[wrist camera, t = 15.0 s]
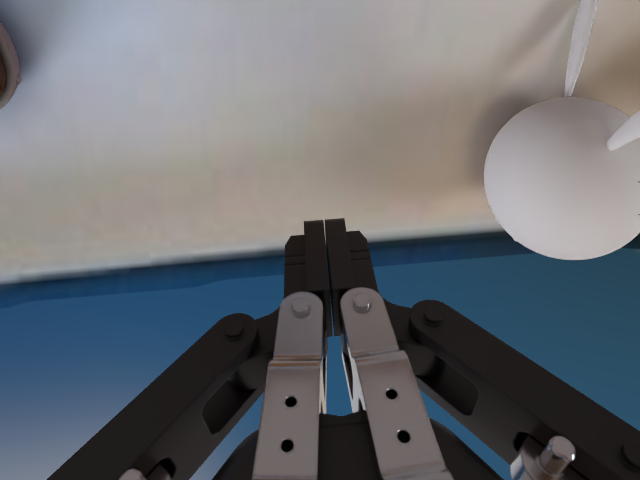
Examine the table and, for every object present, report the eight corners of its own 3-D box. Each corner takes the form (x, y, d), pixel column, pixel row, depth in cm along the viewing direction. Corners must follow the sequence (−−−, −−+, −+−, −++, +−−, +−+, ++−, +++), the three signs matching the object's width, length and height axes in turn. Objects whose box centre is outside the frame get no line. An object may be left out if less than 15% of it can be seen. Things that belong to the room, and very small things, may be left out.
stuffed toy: (614, 311, 40) (900, 54, 22) (476, 301, 40) (649, 29, 21) (548, 187, 53) (692, -40, 35) (443, 178, 52) (533, -57, 34)
